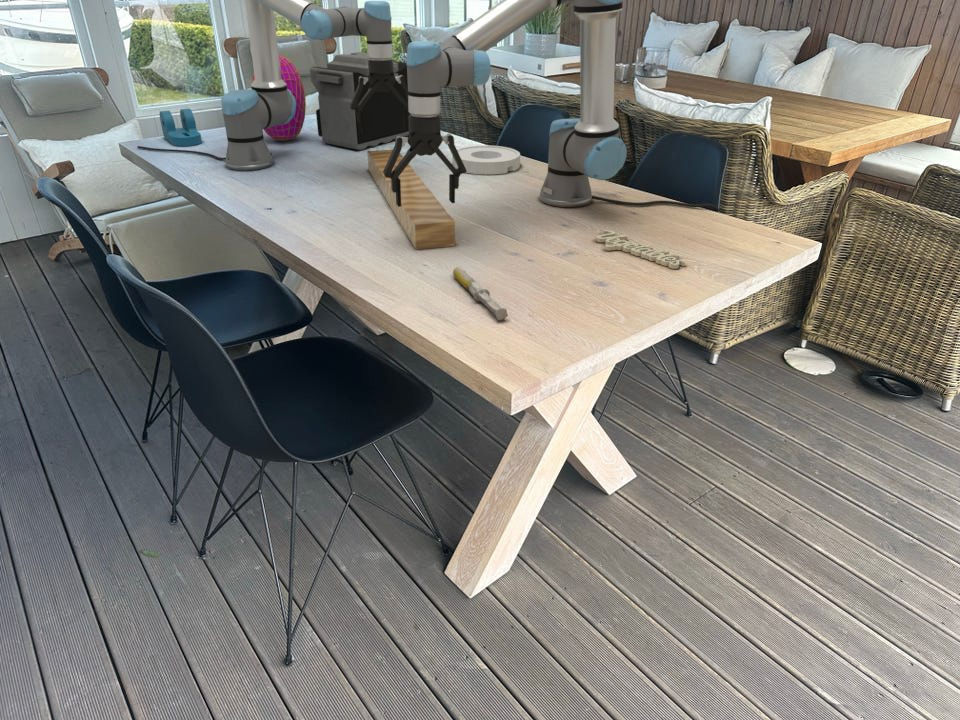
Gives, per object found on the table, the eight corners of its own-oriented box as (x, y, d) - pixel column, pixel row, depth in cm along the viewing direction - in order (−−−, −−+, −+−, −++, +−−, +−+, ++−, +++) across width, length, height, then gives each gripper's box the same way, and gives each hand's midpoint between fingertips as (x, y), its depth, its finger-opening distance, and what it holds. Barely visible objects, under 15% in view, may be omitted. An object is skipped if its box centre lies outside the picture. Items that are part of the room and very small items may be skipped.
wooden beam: (455, 245, 170) (454, 221, 167) (416, 249, 168) (415, 224, 165) (397, 168, 232) (396, 149, 228) (368, 170, 229) (367, 151, 226)
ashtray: (454, 156, 246) (454, 144, 244) (519, 157, 245) (519, 146, 243) (450, 173, 226) (450, 161, 224) (520, 175, 225) (521, 162, 223)
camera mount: (164, 137, 265) (157, 109, 260) (192, 134, 270) (186, 106, 265) (176, 147, 253) (170, 117, 247) (205, 143, 258) (200, 114, 252)
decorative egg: (293, 132, 276) (283, 50, 261) (319, 140, 264) (310, 56, 249) (249, 139, 265) (236, 54, 250) (273, 148, 253) (261, 60, 238)
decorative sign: (581, 237, 173) (606, 228, 179) (581, 241, 174) (606, 232, 179) (668, 269, 156) (693, 258, 162) (668, 273, 157) (693, 262, 162)
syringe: (449, 274, 155) (449, 263, 153) (465, 272, 156) (464, 260, 154) (490, 323, 135) (491, 310, 133) (508, 319, 136) (508, 307, 134)
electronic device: (379, 127, 286) (374, 48, 270) (420, 134, 275) (417, 53, 259) (313, 143, 260) (303, 57, 245) (355, 152, 249) (347, 63, 234)
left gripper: (418, 56, 212) (420, 127, 223) (337, 58, 206) (343, 131, 217) (423, 59, 206) (425, 132, 217) (340, 61, 200) (346, 136, 211)
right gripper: (471, 109, 167) (469, 195, 177) (368, 112, 160) (373, 201, 171) (480, 115, 160) (477, 204, 171) (373, 119, 154) (378, 211, 165)
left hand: (384, 131), depth 217 cm, fingers open, 13 cm apart
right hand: (425, 203), depth 171 cm, fingers open, 13 cm apart
